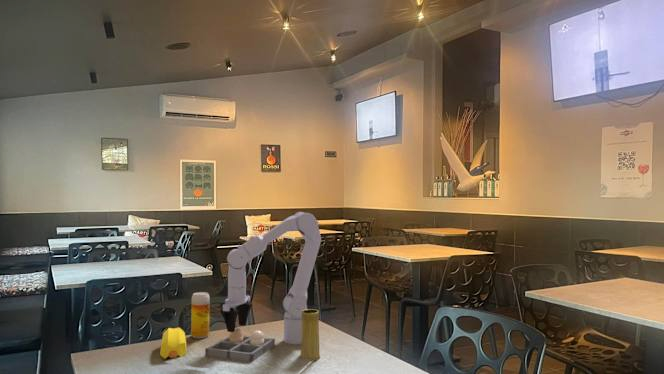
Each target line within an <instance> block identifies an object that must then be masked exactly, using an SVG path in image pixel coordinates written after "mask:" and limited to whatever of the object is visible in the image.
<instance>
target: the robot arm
mask: <svg viewBox="0 0 664 374" xmlns="http://www.w3.org/2000/svg"><path fill="white" fill-rule="evenodd" d="M288 232H299V233H300V235H301V237H302V238H303V239H304V240H303V241H305V243H304V246H303V250H302V252H301V256H300V259H299V263H298V267H297V269H296V273H295V276H294V280H293V284H292V286H291V287H290V288H289V290H288V293H287V294H286V296H285V297H284V299H283V301H282V307H283V309H284V310H285V312H284V314H283V342H284V343H285V344H287V345H288V344H289V345H301V335H302V311H303V310H307V309H308V305H307V302H308V301H307V300H308V289H309V285H310V280H311V277H312V274H313V270H314V267H315V264H316V260H317V257H318V254H319V250H320V246H321V243H322V237H321V236H322V235H321V233H320V229H319V221H318V220H317V218H316V217H315V215H313V214H312V213H310V212H303V211H298V212H296V213H295V214H293V215H291V216H288V217H287V218H285V219H284V220H282V221H281V222H280V223H278V224H277V225H275V226H274V227H272V228H271V229H270V230H268V231H267V232H266V233H264V234H263V235H257V234H256V235H254V236H253V235H251V236H249V239H248V240H247V241H245V242H244V243H243V244H241V245H240V244H238V245H237V248H234V249H232V250H230V251H229V252H228V254H227V257H226V262H227V263H228V273H227V298H226V299H225V300H224V302H225V303H224V304H222V309H220V314H221V316H222V318H223V320H224V323H225V327H226V331H227V333H228V332H229V333H230V332H234V331H235V328H236V324H237V323H236V322H237V320H238V325H239V326H241V327H243V326H244V327H245V326H246V325H247V322H248V317H249V314H250V312H251V309H252V307H253V302H250V301H251V295H247V272H246V267H247V266H246V265H247V264H248V262H249V261H251V260H253V259H254V258H256V257H257V256H259V255H260V254H262V253H263V252H264V251H266V250H267V246H268V244H270V243H272V242H274V241H275V240H277V239H278V238H279V237H281V236H283V235H285V234H287V233H288ZM234 308H236V310H235V309H234Z"/></svg>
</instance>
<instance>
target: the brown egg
mask: <svg viewBox="0 0 664 374" xmlns="http://www.w3.org/2000/svg"><path fill="white" fill-rule="evenodd" d="M229 335H230V341H229V342H236V343H241V342H243V336H244V331H243V330H242V329H241V328H236V327H235V331H234V332H229Z"/></svg>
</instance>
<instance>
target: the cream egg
mask: <svg viewBox="0 0 664 374" xmlns="http://www.w3.org/2000/svg"><path fill="white" fill-rule="evenodd" d="M264 334H265V333H264V332H263V331H261V330H259V329H257V330H254V331H252V332H251V334H250V335H249V336H250V344H254V345H263V344H264V338H265V335H264Z"/></svg>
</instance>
